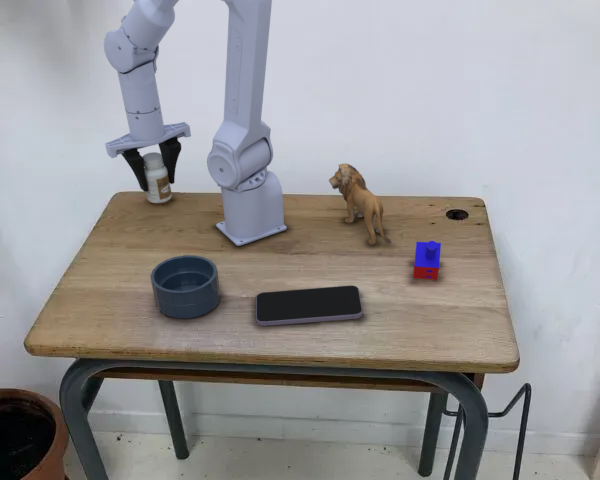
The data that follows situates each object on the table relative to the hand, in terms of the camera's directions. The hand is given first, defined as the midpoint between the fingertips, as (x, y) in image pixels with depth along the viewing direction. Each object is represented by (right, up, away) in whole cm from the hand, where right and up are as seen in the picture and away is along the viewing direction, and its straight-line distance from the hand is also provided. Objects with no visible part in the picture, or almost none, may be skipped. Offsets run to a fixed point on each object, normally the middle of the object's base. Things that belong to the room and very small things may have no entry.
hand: (157, 185), depth 122 cm
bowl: (+9, -23, -20) cm, 32 cm away
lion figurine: (+35, -9, -7) cm, 37 cm away
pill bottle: (0, -2, +2) cm, 3 cm away
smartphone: (+26, -25, -23) cm, 43 cm away
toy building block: (+44, -19, -17) cm, 51 cm away
